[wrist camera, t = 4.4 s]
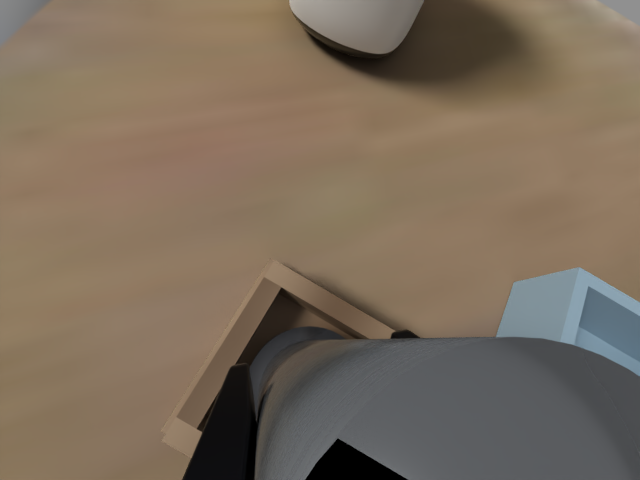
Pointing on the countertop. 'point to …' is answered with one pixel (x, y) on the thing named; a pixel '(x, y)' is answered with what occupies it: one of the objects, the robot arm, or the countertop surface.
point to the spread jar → (357, 23)
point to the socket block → (262, 341)
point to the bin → (576, 315)
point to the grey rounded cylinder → (441, 409)
